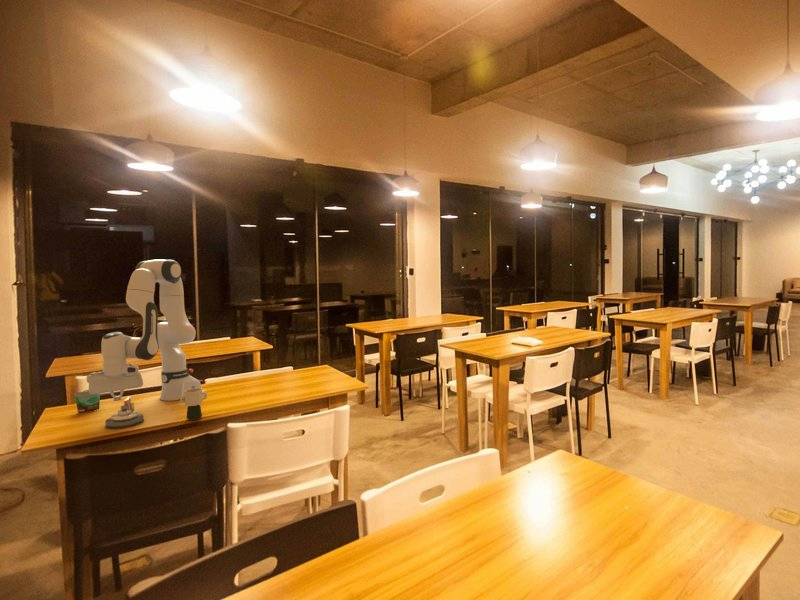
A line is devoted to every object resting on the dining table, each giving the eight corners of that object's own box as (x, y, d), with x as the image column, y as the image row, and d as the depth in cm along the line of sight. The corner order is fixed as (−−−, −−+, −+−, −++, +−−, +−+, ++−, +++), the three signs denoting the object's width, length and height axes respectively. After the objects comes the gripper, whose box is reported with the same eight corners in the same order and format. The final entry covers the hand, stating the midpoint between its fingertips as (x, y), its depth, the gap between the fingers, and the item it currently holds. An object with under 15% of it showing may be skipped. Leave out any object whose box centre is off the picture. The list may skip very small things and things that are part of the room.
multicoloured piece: (135, 419, 186) (134, 404, 186) (108, 422, 183) (107, 406, 182) (141, 410, 199) (141, 395, 199) (117, 412, 196) (116, 398, 195)
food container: (86, 414, 201) (84, 393, 200) (74, 414, 202) (73, 392, 201) (109, 406, 213) (107, 386, 212) (98, 406, 214) (97, 385, 213)
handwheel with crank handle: (130, 416, 199) (129, 399, 198) (151, 420, 193) (150, 403, 192) (98, 425, 186) (97, 408, 185) (119, 430, 180) (118, 412, 179)
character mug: (205, 414, 200) (204, 386, 199) (209, 418, 194) (208, 389, 194) (178, 419, 193) (177, 390, 192) (182, 423, 188) (181, 393, 187)
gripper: (86, 374, 185) (88, 407, 186) (142, 367, 196) (144, 397, 198) (86, 372, 190) (88, 403, 191) (141, 364, 202) (143, 394, 203)
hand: (117, 400), depth 195 cm, fingers closed
